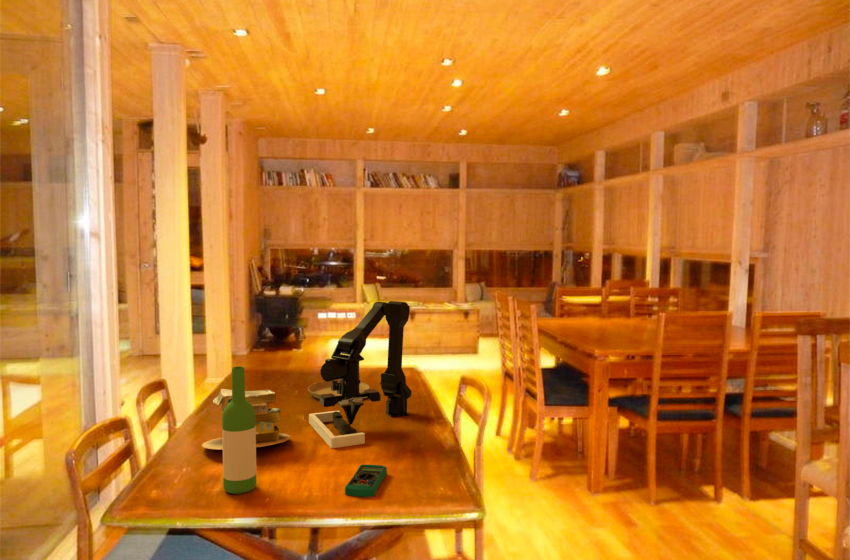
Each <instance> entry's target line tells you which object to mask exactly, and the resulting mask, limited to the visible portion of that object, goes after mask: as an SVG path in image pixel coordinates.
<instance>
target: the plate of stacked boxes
mask: <svg viewBox="0 0 850 560" xmlns="http://www.w3.org/2000/svg"><path fill="white" fill-rule="evenodd" d="M217 395H218V396H216V397H215V398H214V399H213V401H212V403H213V404H215V405H217V406H220V405H221V412H223V411H224V409H225V407H226V406H227V405H228V404H229V403H230V402H231V401H232V389H227V388H220V390H219V392H218V394H217ZM276 397H277V394H276V392H275V391H273V390H271V388H270V389H262V390H261V389H259V390H257V389H256V390H248V391H247V390H245V399H246V400H247V401H248V402H249V403H250V404H251V405H252V406H253V408H254V410H255V424H256V448H261V447H266V446H267V447H268V446H273V445H276V444H281V443H284V442H287V441H288V440H290V439H291V438H292V436H291V435H289V434H287V433H280V428H279V427H278V426H277V425H275V423H280V422H281V409H282V408H279V407H273V406H270V404H276ZM269 406H270V407H269ZM201 447H202V448H204V449H209V450H222V451H223V440H222V437H217V438H214V439H209V440H208V441H205V442H203V443H202V444H201Z"/></svg>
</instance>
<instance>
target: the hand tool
mask: <svg viewBox="0 0 850 560" xmlns="http://www.w3.org/2000/svg"><path fill="white" fill-rule="evenodd" d="M332 423H333V426H334V427H333V428H335V429H337V430H338V432H339V433H341V435H347V434H355V433H358V432H357V429H356V428H355V427H352V426H351V425H352V424H351V425H350V424H349V423H348V421H346V420H345V419H344V418H343V415H342V414H341V412H340V413H339V412H333V421H332Z"/></svg>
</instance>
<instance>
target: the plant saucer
mask: <svg viewBox="0 0 850 560" xmlns="http://www.w3.org/2000/svg"><path fill="white" fill-rule="evenodd" d="M334 381H338V383H340V379H338V380H334ZM368 389H370V385H369V384H367V383H365V382H362V381H360V384H359V392H360V393H363V392H364V390H368ZM307 390H308V392H309V394H310V395H311V396H312V397H313V398H315V399H316V400H320V396H321V395H322V394H330V393H332V394H333V395H334V396H341V394H337V391H331V381H330V382H326V381H324V380H323V381H319V382H314V383H312V384H310V385H309V386H308V387H307Z"/></svg>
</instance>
